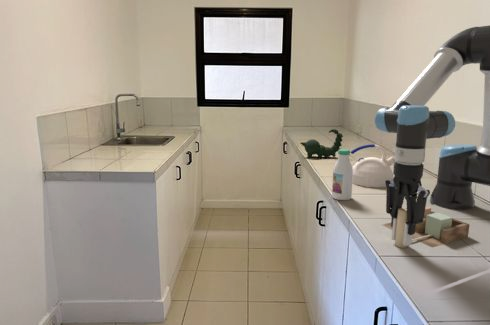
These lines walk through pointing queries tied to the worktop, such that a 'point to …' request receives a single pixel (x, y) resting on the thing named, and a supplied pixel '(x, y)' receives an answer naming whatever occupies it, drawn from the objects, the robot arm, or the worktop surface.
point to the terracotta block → (427, 211)
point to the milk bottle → (342, 176)
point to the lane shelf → (447, 234)
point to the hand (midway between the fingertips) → (401, 241)
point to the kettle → (372, 169)
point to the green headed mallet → (432, 227)
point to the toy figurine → (315, 148)
